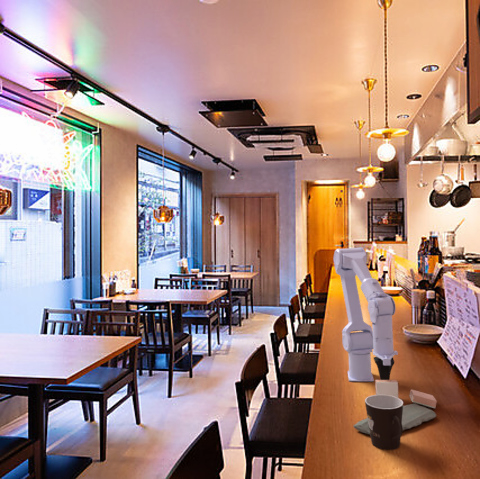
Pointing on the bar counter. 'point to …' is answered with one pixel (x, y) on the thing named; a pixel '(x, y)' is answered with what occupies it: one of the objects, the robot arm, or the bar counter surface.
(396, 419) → the coffee mug
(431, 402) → the pink flat block
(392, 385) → the cream tile
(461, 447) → the bar counter surface
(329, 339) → the bar counter surface
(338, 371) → the bar counter surface
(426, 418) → the stone slab
